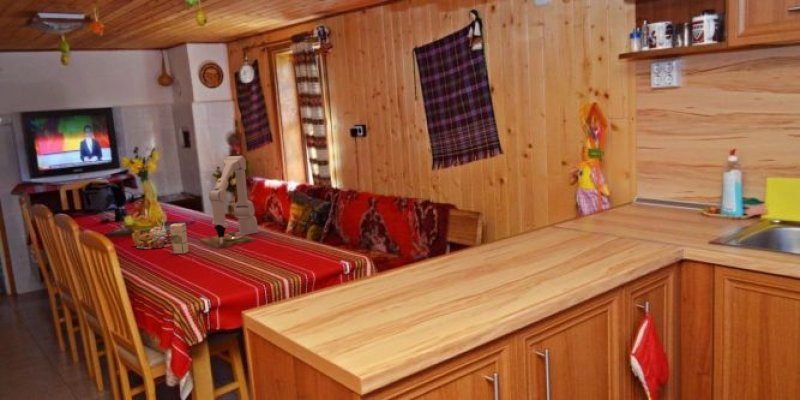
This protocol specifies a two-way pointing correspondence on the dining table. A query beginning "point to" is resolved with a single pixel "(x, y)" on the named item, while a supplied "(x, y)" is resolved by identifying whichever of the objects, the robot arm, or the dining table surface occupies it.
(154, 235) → the candy landscape model
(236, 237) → the lever handle
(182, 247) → the syrup box
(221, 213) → the robot arm
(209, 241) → the base board
